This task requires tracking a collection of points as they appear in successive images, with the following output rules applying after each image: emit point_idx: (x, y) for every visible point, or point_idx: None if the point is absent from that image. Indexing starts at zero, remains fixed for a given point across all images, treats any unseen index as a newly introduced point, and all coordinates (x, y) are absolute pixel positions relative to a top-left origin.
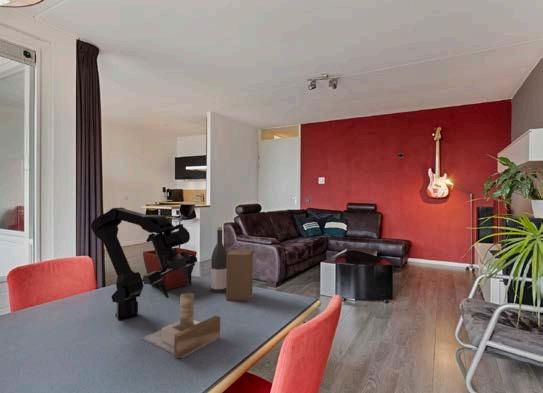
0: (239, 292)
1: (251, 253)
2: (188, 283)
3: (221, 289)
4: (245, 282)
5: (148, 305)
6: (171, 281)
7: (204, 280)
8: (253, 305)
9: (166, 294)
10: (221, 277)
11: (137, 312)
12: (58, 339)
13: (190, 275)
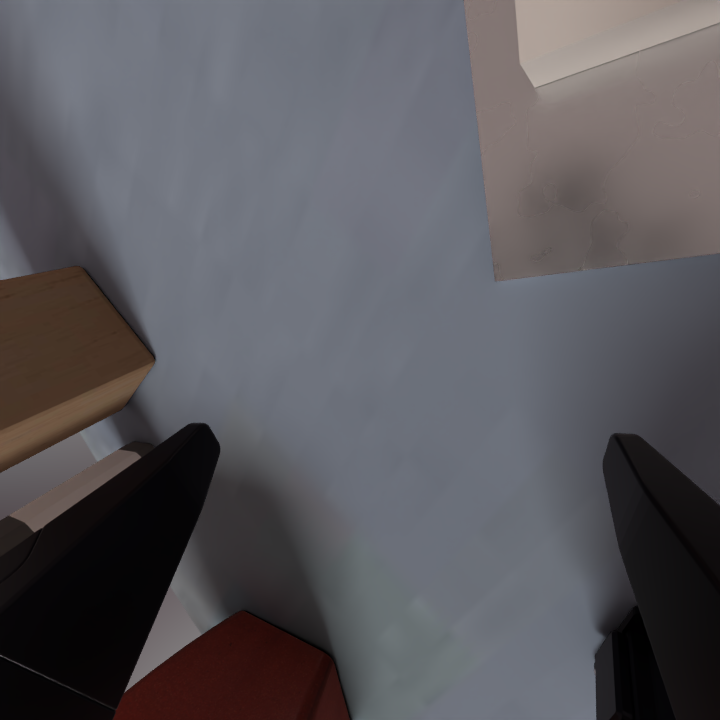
0: (64, 316)
1: None
2: (204, 471)
3: (142, 454)
4: None
5: (477, 634)
6: (282, 678)
7: (178, 578)
8: (70, 199)
9: (684, 487)
10: (82, 494)
11: (617, 632)
12: None
13: (47, 537)
